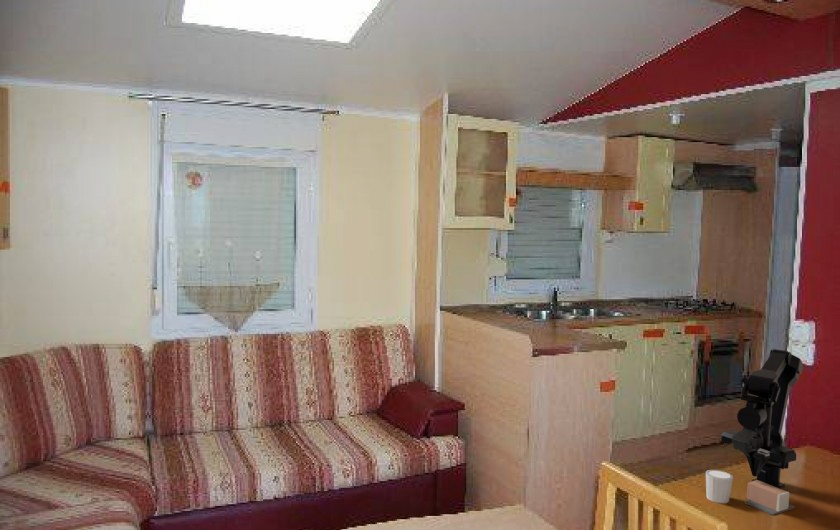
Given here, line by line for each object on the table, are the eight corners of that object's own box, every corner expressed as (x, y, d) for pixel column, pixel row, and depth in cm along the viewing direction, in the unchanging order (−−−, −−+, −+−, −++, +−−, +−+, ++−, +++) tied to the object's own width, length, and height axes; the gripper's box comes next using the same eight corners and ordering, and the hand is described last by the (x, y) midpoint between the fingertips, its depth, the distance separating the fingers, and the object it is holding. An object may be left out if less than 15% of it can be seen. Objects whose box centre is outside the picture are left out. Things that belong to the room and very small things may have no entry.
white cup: (715, 505, 172) (717, 480, 171) (698, 494, 178) (700, 470, 178) (737, 503, 173) (739, 478, 173) (719, 492, 180) (720, 468, 180)
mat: (765, 496, 178) (766, 495, 178) (794, 508, 172) (794, 506, 172) (743, 503, 174) (743, 501, 174) (772, 515, 167) (772, 513, 167)
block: (757, 479, 178) (789, 492, 170) (756, 495, 178) (788, 508, 170) (747, 482, 176) (779, 495, 168) (746, 498, 176) (778, 511, 168)
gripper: (710, 414, 179) (706, 468, 180) (774, 435, 163) (770, 494, 164) (734, 410, 185) (731, 462, 186) (799, 429, 168) (795, 487, 169)
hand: (754, 476), depth 176 cm, fingers closed
